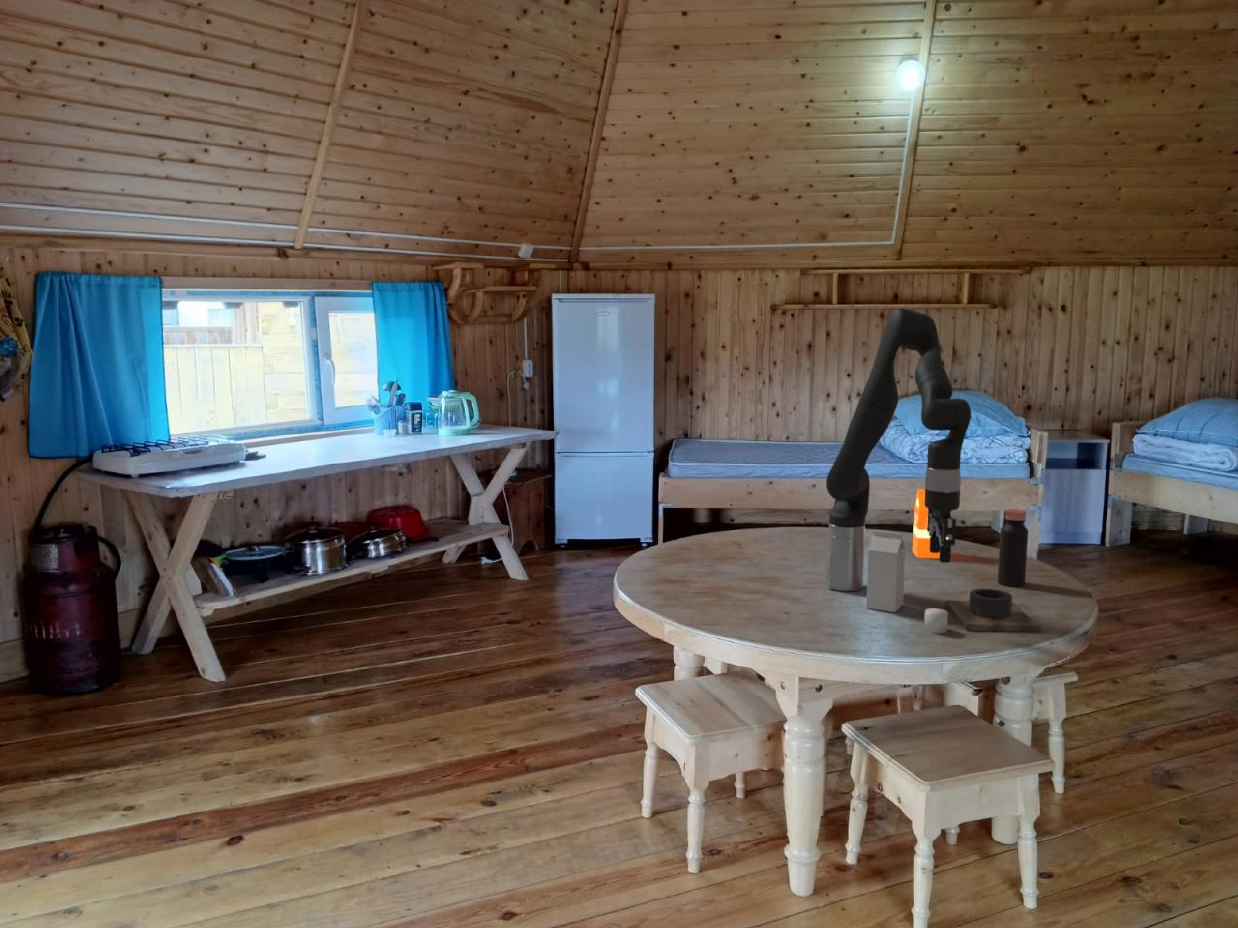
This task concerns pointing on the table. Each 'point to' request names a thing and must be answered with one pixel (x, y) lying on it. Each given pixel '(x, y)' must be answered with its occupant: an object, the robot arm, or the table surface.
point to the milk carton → (885, 571)
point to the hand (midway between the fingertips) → (939, 557)
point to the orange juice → (922, 529)
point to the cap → (935, 620)
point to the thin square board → (990, 612)
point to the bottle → (1013, 549)
